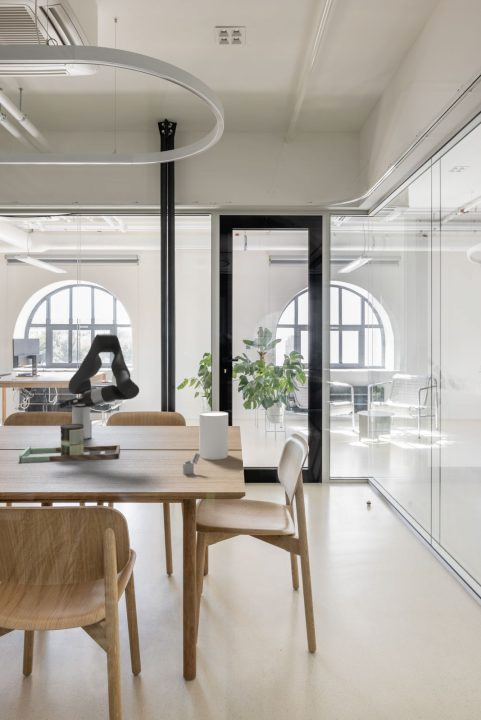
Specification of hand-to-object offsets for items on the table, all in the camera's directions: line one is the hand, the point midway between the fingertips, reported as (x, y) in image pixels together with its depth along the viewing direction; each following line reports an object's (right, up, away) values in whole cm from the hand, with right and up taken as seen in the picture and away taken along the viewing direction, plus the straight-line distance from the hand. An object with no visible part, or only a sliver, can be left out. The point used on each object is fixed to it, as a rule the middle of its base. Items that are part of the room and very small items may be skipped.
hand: (65, 405), depth 233 cm
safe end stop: (-12, -23, -1) cm, 26 cm away
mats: (+16, -23, +5) cm, 29 cm away
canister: (+68, -24, +3) cm, 73 cm away
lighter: (+61, -26, -26) cm, 71 cm away
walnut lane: (+3, -23, +2) cm, 24 cm away
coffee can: (+3, -24, +2) cm, 24 cm away
